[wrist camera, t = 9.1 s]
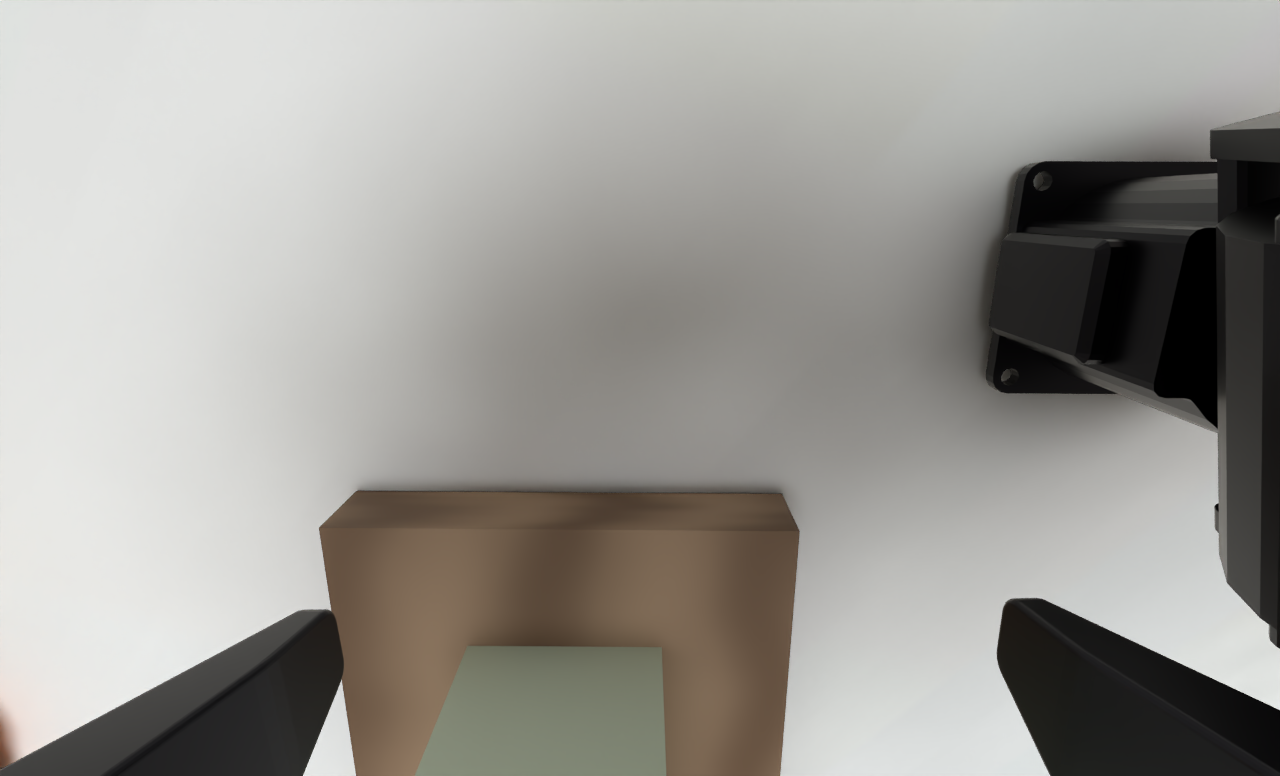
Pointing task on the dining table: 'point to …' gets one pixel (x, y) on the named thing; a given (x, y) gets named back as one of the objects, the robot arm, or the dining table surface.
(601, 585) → the walnut plinth
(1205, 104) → the dining table surface
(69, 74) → the dining table surface
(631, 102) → the dining table surface
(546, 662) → the sage block
